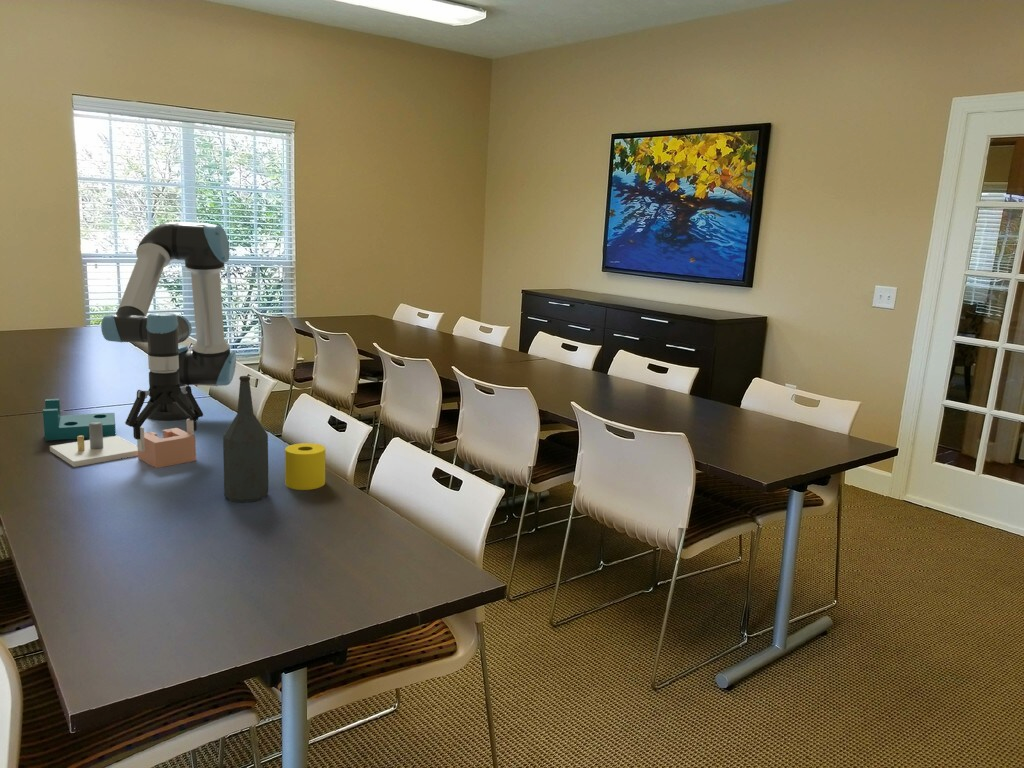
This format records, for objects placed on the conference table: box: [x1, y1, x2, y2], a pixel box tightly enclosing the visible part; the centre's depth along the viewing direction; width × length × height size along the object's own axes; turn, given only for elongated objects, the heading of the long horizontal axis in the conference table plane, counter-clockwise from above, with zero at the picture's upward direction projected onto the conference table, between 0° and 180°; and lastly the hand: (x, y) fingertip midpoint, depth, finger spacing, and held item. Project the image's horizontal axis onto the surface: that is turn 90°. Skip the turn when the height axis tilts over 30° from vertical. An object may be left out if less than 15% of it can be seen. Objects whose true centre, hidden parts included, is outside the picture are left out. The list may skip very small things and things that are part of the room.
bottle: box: [222, 375, 269, 503], centre depth 185 cm, size 10×10×30 cm
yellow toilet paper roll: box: [284, 442, 326, 491], centre depth 198 cm, size 10×10×9 cm
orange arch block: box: [138, 427, 197, 469], centre depth 211 cm, size 11×11×7 cm
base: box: [49, 422, 138, 468], centre depth 213 cm, size 18×18×8 cm
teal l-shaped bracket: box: [42, 398, 116, 441], centre depth 228 cm, size 18×11×10 cm, turn 117°
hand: (166, 446), depth 211 cm, fingers open, 13 cm apart
